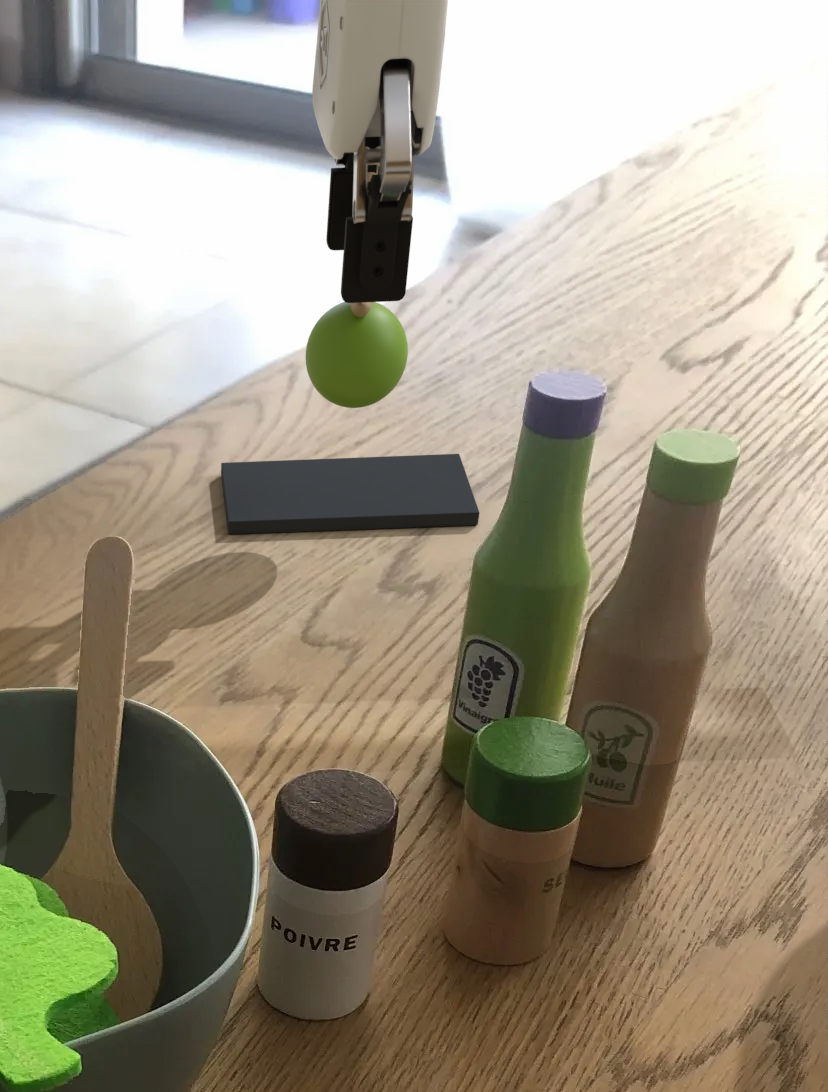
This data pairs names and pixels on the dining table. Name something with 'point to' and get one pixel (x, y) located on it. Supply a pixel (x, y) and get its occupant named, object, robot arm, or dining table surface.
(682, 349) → the dining table surface
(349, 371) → the snail figurine
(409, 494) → the mat
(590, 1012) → the dining table surface
